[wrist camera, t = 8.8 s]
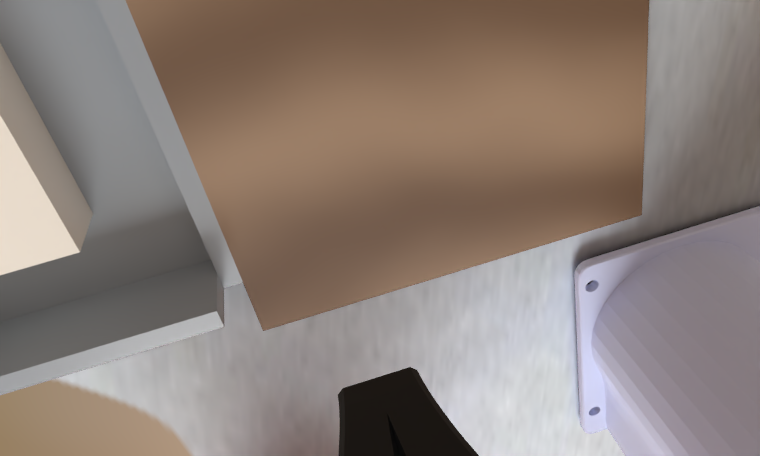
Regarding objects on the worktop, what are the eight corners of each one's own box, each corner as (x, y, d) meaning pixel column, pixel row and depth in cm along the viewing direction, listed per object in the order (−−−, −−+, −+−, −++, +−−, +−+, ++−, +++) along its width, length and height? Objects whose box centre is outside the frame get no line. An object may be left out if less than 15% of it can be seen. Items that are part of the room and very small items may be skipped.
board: (622, 197, 22) (641, 214, 21) (260, 307, 21) (263, 330, 20) (631, -443, 13) (665, -467, 12) (10, -305, 12) (-7, -318, 11)
